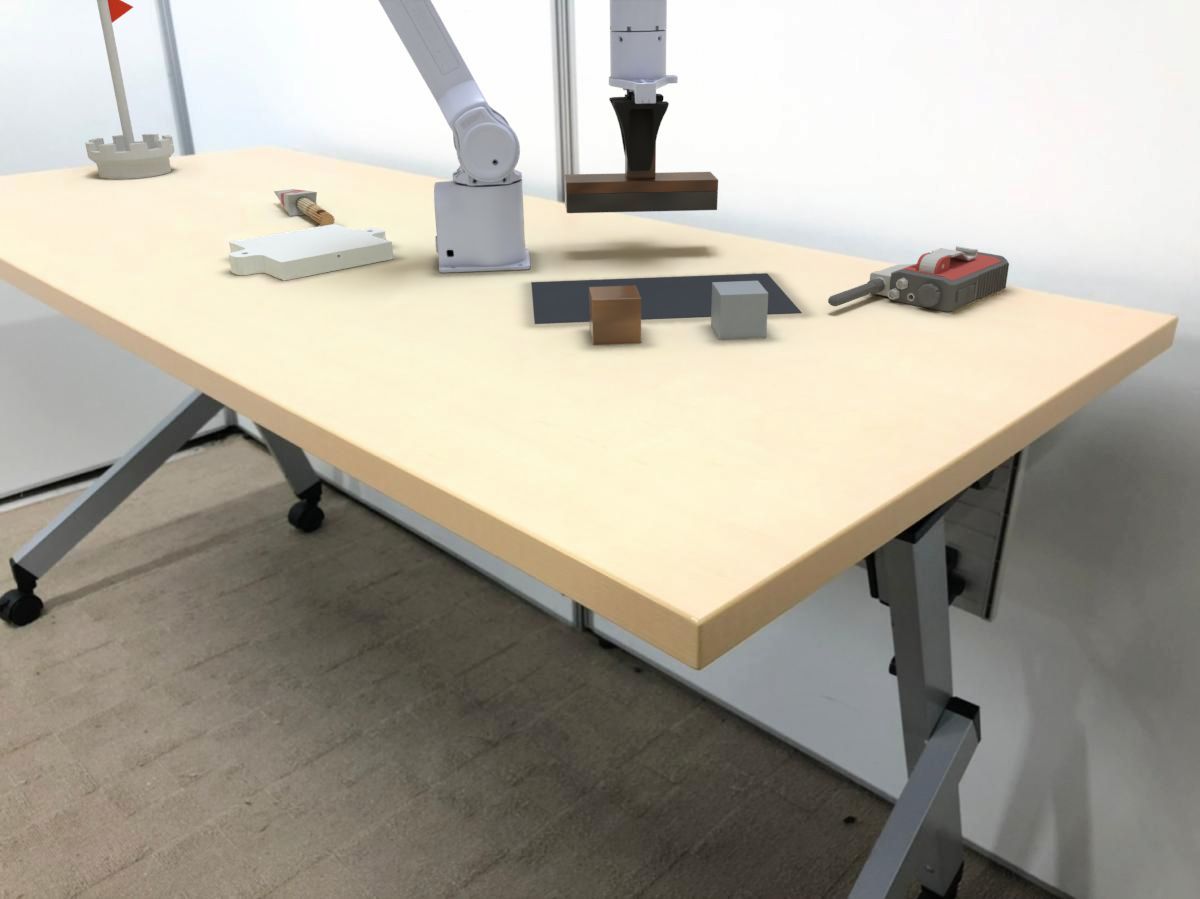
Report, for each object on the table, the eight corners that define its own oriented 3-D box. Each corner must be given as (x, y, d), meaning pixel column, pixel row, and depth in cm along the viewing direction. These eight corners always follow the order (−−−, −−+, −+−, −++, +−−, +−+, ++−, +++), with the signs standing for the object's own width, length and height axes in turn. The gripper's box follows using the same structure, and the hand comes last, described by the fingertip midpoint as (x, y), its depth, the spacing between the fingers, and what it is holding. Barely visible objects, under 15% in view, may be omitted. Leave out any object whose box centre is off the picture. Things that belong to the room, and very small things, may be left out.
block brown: (593, 346, 88) (592, 299, 87) (589, 332, 92) (588, 286, 90) (641, 344, 88) (641, 297, 87) (635, 330, 92) (635, 285, 90)
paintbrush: (296, 178, 148) (340, 208, 132) (298, 197, 149) (343, 230, 133) (268, 180, 146) (310, 211, 130) (270, 200, 147) (312, 233, 132)
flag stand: (124, 182, 165) (82, -29, 153) (75, 176, 172) (31, -28, 159) (194, 170, 175) (160, -30, 163) (145, 164, 182) (109, -28, 169)
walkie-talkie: (933, 271, 108) (819, 314, 95) (938, 228, 106) (822, 266, 94) (1015, 287, 102) (906, 334, 90) (1022, 241, 100) (911, 283, 88)
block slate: (719, 341, 89) (720, 294, 87) (710, 326, 92) (712, 282, 91) (766, 339, 89) (768, 293, 88) (756, 325, 93) (758, 280, 91)
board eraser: (566, 213, 112) (565, 143, 109) (565, 204, 116) (563, 136, 113) (717, 210, 113) (719, 140, 110) (709, 201, 117) (711, 133, 114)
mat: (534, 325, 94) (534, 323, 94) (531, 284, 106) (531, 282, 106) (802, 314, 95) (802, 312, 95) (767, 275, 108) (767, 273, 108)
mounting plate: (260, 285, 108) (257, 266, 107) (209, 262, 117) (206, 245, 116) (413, 255, 118) (411, 238, 118) (355, 236, 127) (353, 220, 127)
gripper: (687, 33, 101) (685, 178, 106) (668, 26, 114) (667, 156, 120) (613, 34, 101) (615, 180, 106) (602, 28, 114) (604, 158, 119)
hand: (638, 167), depth 113 cm, fingers closed on board eraser, 2 cm apart
